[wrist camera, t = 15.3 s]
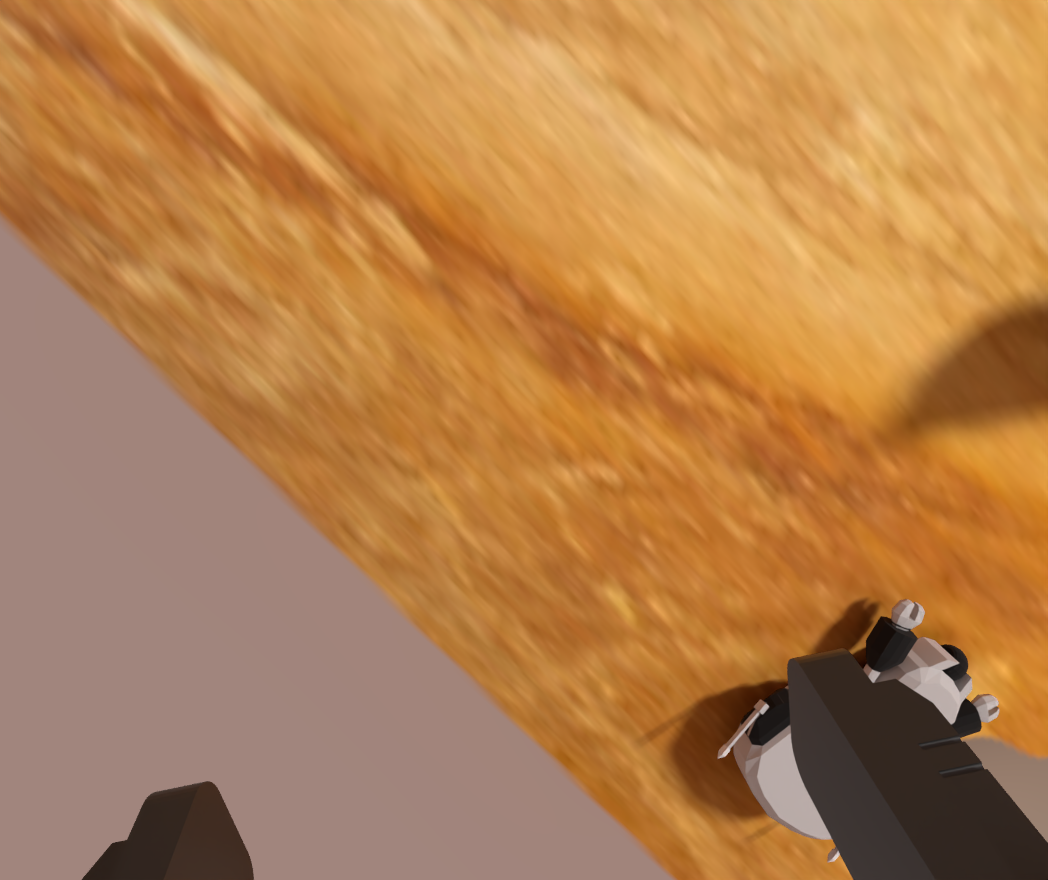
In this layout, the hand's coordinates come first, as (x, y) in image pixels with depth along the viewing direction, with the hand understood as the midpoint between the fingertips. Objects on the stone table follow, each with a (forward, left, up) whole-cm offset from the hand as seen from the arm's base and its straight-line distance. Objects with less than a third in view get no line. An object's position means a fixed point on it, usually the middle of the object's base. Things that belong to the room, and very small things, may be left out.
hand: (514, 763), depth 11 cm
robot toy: (+28, -19, -29) cm, 45 cm away
